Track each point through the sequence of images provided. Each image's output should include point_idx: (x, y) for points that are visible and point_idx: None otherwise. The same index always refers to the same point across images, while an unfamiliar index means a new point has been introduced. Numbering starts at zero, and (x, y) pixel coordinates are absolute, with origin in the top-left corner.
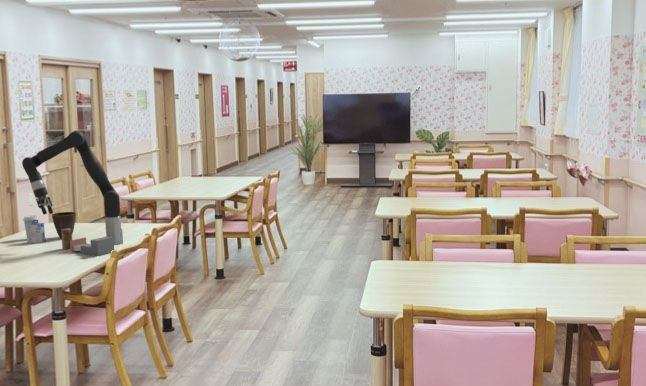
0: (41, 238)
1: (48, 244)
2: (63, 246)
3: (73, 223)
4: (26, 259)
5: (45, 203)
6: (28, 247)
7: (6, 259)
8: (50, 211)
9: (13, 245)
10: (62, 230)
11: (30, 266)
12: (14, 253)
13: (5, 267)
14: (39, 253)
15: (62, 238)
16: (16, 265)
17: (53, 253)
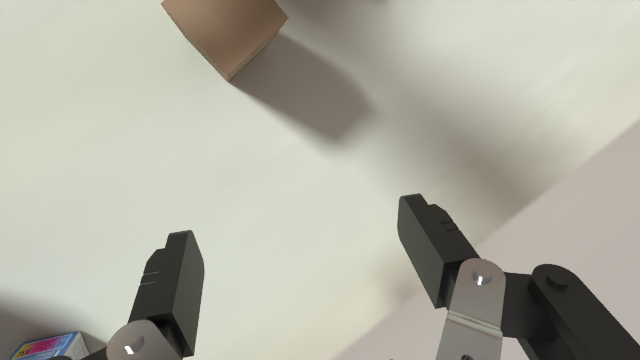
0: (66, 351)
1: (114, 258)
2: (255, 55)
3: None
4: (500, 129)
5: (448, 333)
6: (226, 315)
7: (495, 226)
8: (193, 274)
9: None
10: (273, 32)
11: (629, 17)
12: (377, 280)
13: (629, 126)
14: (371, 148)
15: (248, 59)
16: (604, 100)
17: (367, 61)
